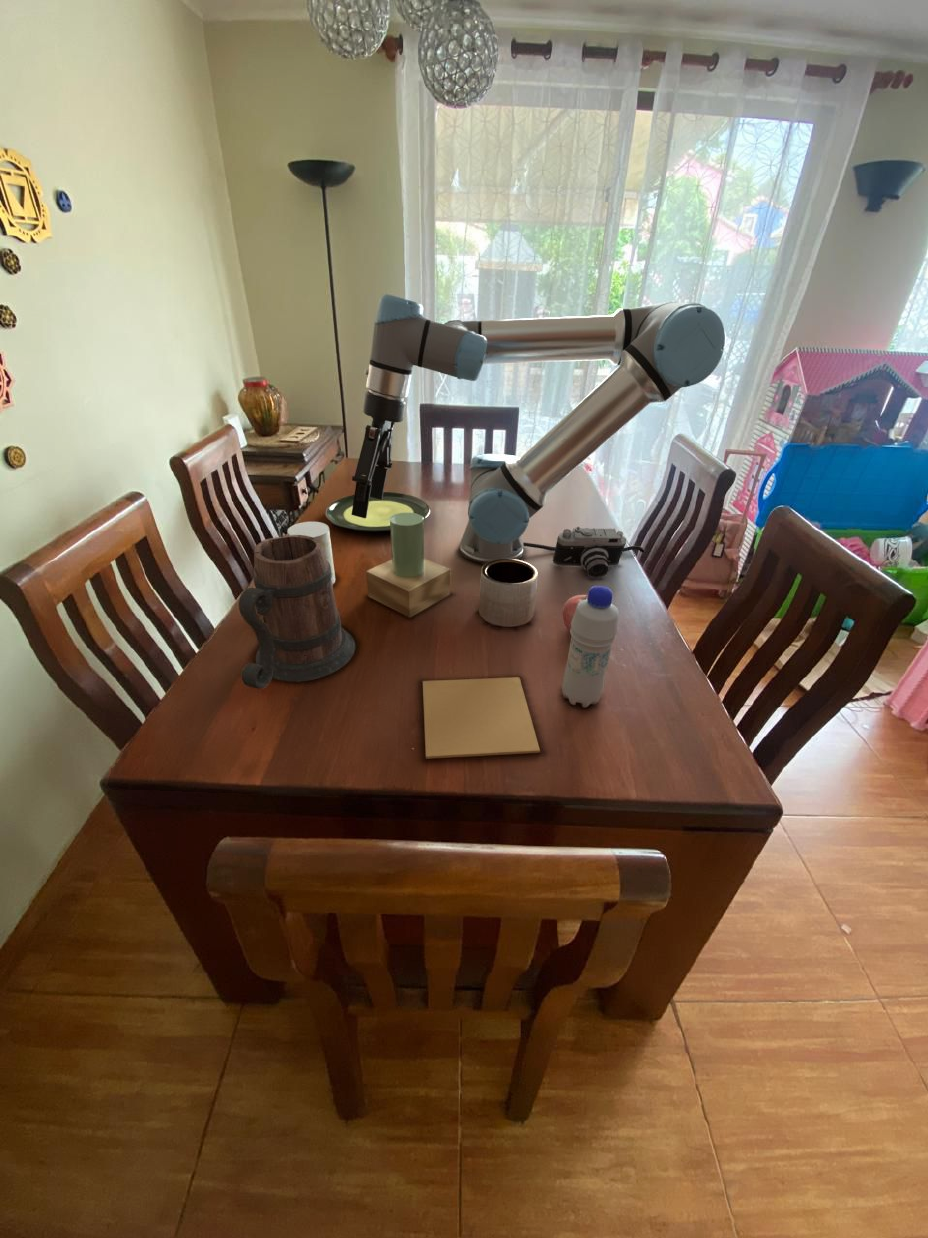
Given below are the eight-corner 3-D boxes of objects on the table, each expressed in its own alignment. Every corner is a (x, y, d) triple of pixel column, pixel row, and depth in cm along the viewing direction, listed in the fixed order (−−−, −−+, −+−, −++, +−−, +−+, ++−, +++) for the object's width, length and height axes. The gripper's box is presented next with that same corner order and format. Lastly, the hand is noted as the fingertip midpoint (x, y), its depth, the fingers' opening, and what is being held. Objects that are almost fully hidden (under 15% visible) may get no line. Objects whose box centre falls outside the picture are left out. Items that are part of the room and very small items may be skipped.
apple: (568, 617, 103) (573, 581, 98) (604, 628, 100) (611, 592, 95) (554, 635, 97) (559, 599, 93) (591, 648, 94) (599, 610, 90)
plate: (441, 505, 151) (441, 496, 150) (412, 544, 128) (412, 535, 127) (351, 495, 156) (351, 486, 155) (308, 531, 133) (306, 522, 132)
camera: (556, 583, 117) (565, 550, 109) (551, 557, 123) (558, 524, 115) (625, 583, 118) (638, 550, 110) (616, 557, 123) (628, 524, 116)
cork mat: (519, 679, 86) (519, 677, 86) (539, 752, 73) (540, 750, 73) (422, 683, 85) (422, 680, 85) (425, 759, 72) (425, 756, 71)
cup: (325, 592, 108) (318, 539, 101) (289, 588, 109) (279, 535, 103) (341, 574, 115) (335, 523, 108) (306, 570, 116) (298, 519, 109)
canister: (424, 562, 108) (423, 512, 102) (424, 577, 102) (424, 525, 96) (392, 563, 107) (390, 512, 101) (392, 578, 102) (389, 525, 96)
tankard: (290, 616, 100) (272, 519, 89) (371, 633, 96) (362, 533, 85) (207, 694, 81) (171, 583, 70) (303, 718, 78) (280, 604, 66)
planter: (538, 605, 106) (543, 563, 101) (526, 634, 97) (531, 590, 92) (487, 595, 109) (490, 554, 104) (471, 622, 100) (473, 578, 95)
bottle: (554, 684, 86) (571, 577, 75) (594, 682, 86) (617, 576, 75) (564, 712, 80) (584, 602, 69) (607, 711, 81) (633, 601, 70)
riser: (409, 575, 115) (408, 551, 112) (450, 594, 109) (450, 569, 105) (368, 596, 107) (365, 570, 104) (409, 618, 101) (408, 591, 98)
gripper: (381, 384, 105) (365, 486, 115) (346, 394, 83) (330, 519, 93) (417, 394, 105) (398, 495, 115) (392, 407, 83) (371, 530, 93)
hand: (367, 506), depth 104 cm, fingers open, 13 cm apart
